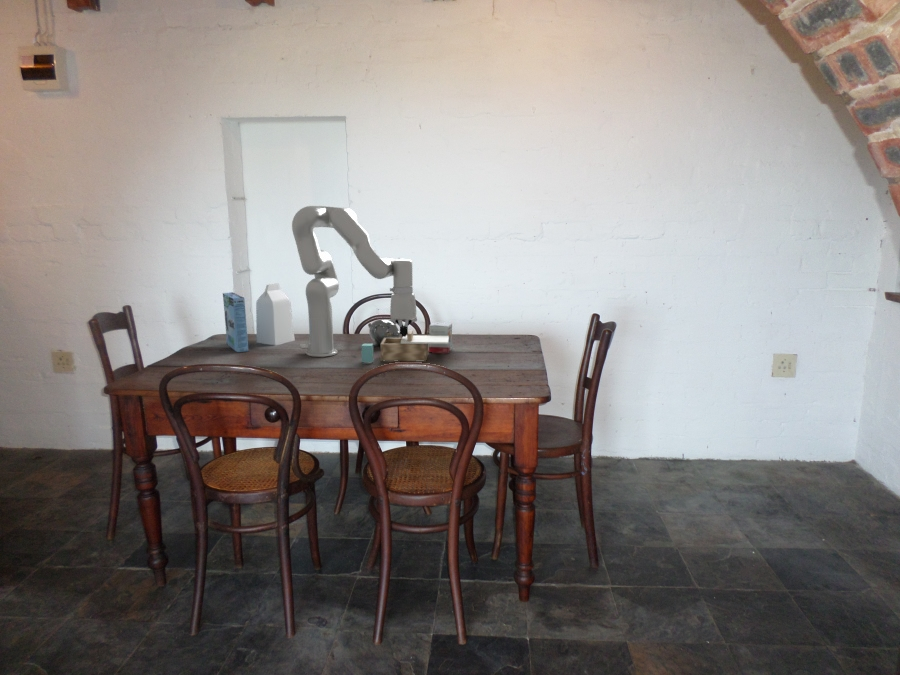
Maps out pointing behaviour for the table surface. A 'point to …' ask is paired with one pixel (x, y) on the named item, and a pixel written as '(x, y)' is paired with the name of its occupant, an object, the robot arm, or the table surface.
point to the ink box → (440, 330)
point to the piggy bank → (383, 330)
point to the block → (367, 353)
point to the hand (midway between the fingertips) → (403, 335)
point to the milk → (274, 317)
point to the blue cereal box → (235, 321)
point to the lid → (423, 339)
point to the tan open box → (402, 351)
